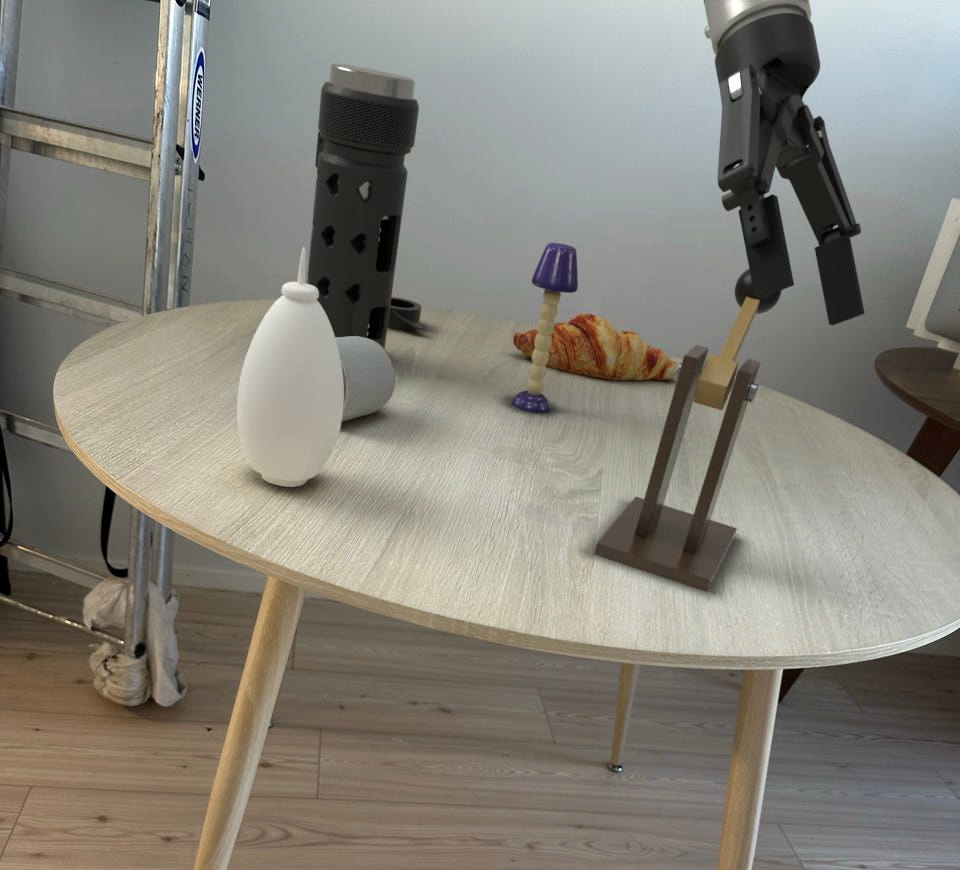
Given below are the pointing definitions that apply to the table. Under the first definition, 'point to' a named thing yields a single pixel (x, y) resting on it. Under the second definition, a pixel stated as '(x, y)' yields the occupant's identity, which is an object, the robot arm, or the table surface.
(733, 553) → the table surface
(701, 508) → the stand
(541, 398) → the toy lamp
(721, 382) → the lever
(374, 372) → the ceramic mug
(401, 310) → the duct tape
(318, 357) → the air blower bulb
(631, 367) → the croissant
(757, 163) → the robot arm
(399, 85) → the water bottle
